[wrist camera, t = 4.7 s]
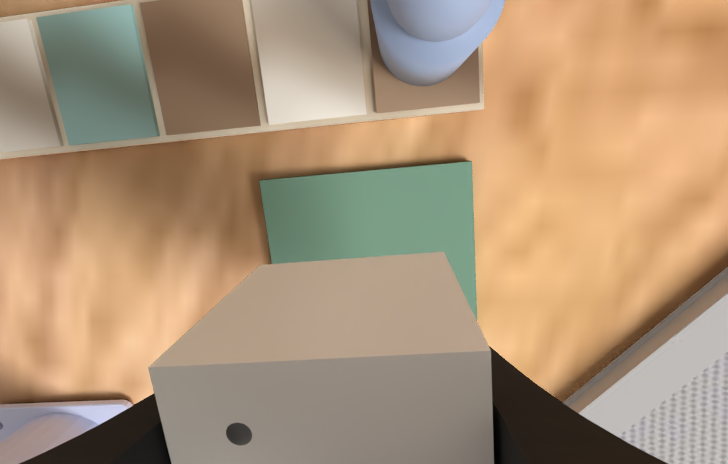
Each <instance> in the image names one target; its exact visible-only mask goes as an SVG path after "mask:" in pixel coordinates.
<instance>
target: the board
mask: <svg viewBox="0 0 728 464" xmlns="http://www.w3.org/2000/svg"><path fill="white" fill-rule="evenodd" d="M483 109H484V84H483V44H482V43H481V44H480V45H479V46H478V47H477V48H476V49H475V50H474V51H473V53H472V54H471V55H470V56H469V57H468V58H467V59H466V60H465V61H464V62H463V64H462V65H461V66H460V67H459V68H458V69H457V70H456V71H455V72H454V73H453V74H452V75H451V76H450V77H448V78H447V79H445V80H444V81H442V82H440V83H438V84H434V85H431V86H413V85H409V84H407V83H404V82H402V81H401V80H399V79H397V78H396V77H395V76H394V75H393V74H392V73H391V72H390V71H389V70H388V68H387V67H386V65H385V63H384V62H383V59H382V57H381V53H380V49H379V44H378V39H377V34H376V29H375V24H374V19H373V14H372V9H371V1H370V0H122V1H114V2H107V3H100V4H93V5H86V6H79V7H71V8H64V9H57V10H50V11H43V12H36V13H28V14H21V15H14V16H7V17H0V159H10V158H20V157H30V156H39V155H49V154H59V153H69V152H78V151H88V150H98V149H108V148H117V147H127V146H137V145H147V144H156V143H166V142H176V141H186V140H195V139H205V138H215V137H225V136H235V135H244V134H254V133H264V132H274V131H283V130H293V129H303V128H313V127H322V126H332V125H342V124H352V123H361V122H371V121H381V120H391V119H400V118H410V117H420V116H430V115H439V114H449V113H459V112H469V111H478V110H483Z"/></svg>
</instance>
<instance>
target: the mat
mask: <svg viewBox="0 0 728 464" xmlns="http://www.w3.org/2000/svg"><path fill="white" fill-rule="evenodd" d="M259 183H260V189H261V196H262V202H263V209H264V215H265V222H266V228H267V235H268V241H269V248H270V254H271V261H272V264H280V263H294V262H308V261H322V260H335V259H349V258H363V257H376V256H390V255H404V254H418V253H431V252H444V253H445V255H446V257H447V259H448V262H449V264H450V266H451V268H452V270H453V272H454V274H455V276H456V278H457V280H458V283H459V285H460V287H461V289H462V291H463V293H464V295H465V297H466V299H467V301H468V304H469V306H470V308H471V310H472V312H473V314H474V316H475V318H476V320H477V304H476V273H475V243H474V212H473V182H472V161H465V162H454V163H443V164H432V165H421V166H410V167H399V168H388V169H377V170H366V171H355V172H344V173H333V174H322V175H311V176H300V177H289V178H278V179H267V180H260V181H259Z"/></svg>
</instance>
